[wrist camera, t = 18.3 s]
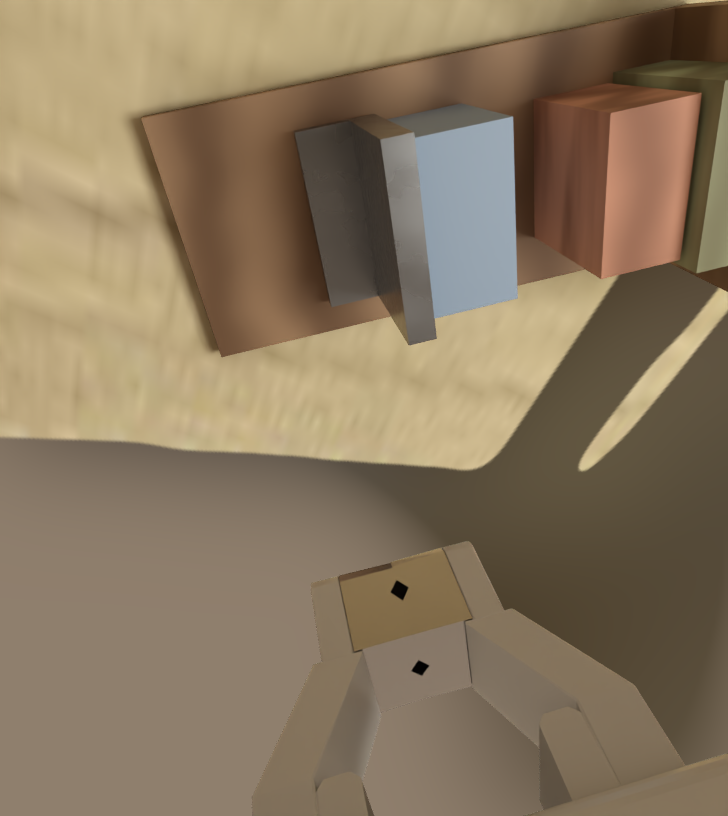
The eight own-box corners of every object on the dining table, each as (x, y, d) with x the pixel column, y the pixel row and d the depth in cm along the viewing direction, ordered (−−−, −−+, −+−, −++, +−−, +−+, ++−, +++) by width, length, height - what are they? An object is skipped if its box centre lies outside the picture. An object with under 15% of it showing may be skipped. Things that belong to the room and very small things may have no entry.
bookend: (374, 113, 32) (414, 132, 26) (398, 286, 38) (436, 338, 31) (293, 130, 32) (312, 154, 25) (329, 302, 37) (353, 359, 31)
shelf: (688, 3, 34) (864, -11, 24) (661, 244, 41) (787, 302, 32) (143, 116, 31) (110, 147, 22) (221, 350, 39) (221, 445, 30)
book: (461, 103, 33) (513, 116, 27) (472, 258, 38) (517, 298, 32) (374, 122, 33) (408, 139, 27) (396, 276, 38) (428, 319, 32)
